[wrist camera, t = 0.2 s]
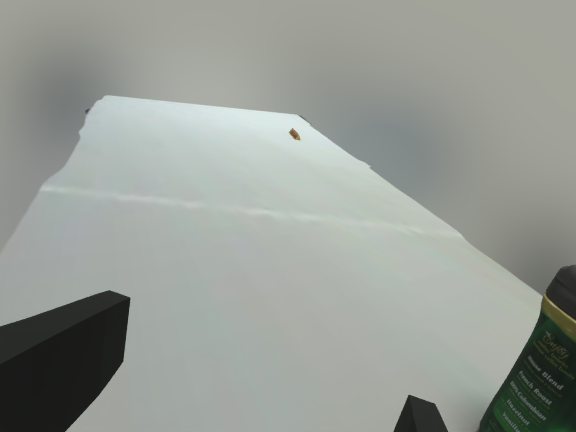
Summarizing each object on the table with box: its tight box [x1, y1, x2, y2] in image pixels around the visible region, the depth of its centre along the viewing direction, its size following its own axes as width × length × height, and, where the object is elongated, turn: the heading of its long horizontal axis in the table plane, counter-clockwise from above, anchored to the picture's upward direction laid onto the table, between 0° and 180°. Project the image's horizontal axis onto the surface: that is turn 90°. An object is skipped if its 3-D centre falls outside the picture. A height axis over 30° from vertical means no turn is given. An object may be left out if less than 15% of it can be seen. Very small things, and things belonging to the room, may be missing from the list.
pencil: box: [289, 128, 300, 140], centre depth 166 cm, size 3×12×2 cm, turn 10°
